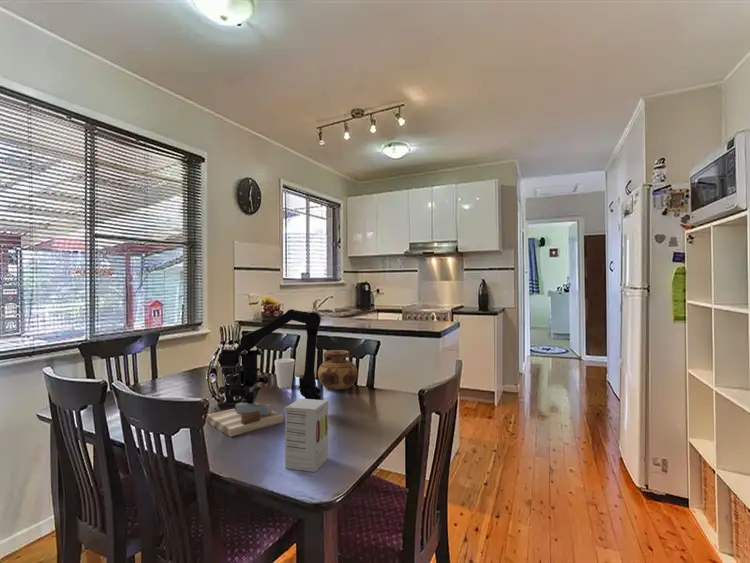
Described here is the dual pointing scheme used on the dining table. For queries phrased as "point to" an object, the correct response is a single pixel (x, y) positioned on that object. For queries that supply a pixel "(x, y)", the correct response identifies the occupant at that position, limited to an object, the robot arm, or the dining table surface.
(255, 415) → the block
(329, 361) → the clay pot
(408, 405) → the dining table surface
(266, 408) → the hinged leg
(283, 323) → the robot arm
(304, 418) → the supplement box
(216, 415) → the stool seat
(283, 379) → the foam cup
